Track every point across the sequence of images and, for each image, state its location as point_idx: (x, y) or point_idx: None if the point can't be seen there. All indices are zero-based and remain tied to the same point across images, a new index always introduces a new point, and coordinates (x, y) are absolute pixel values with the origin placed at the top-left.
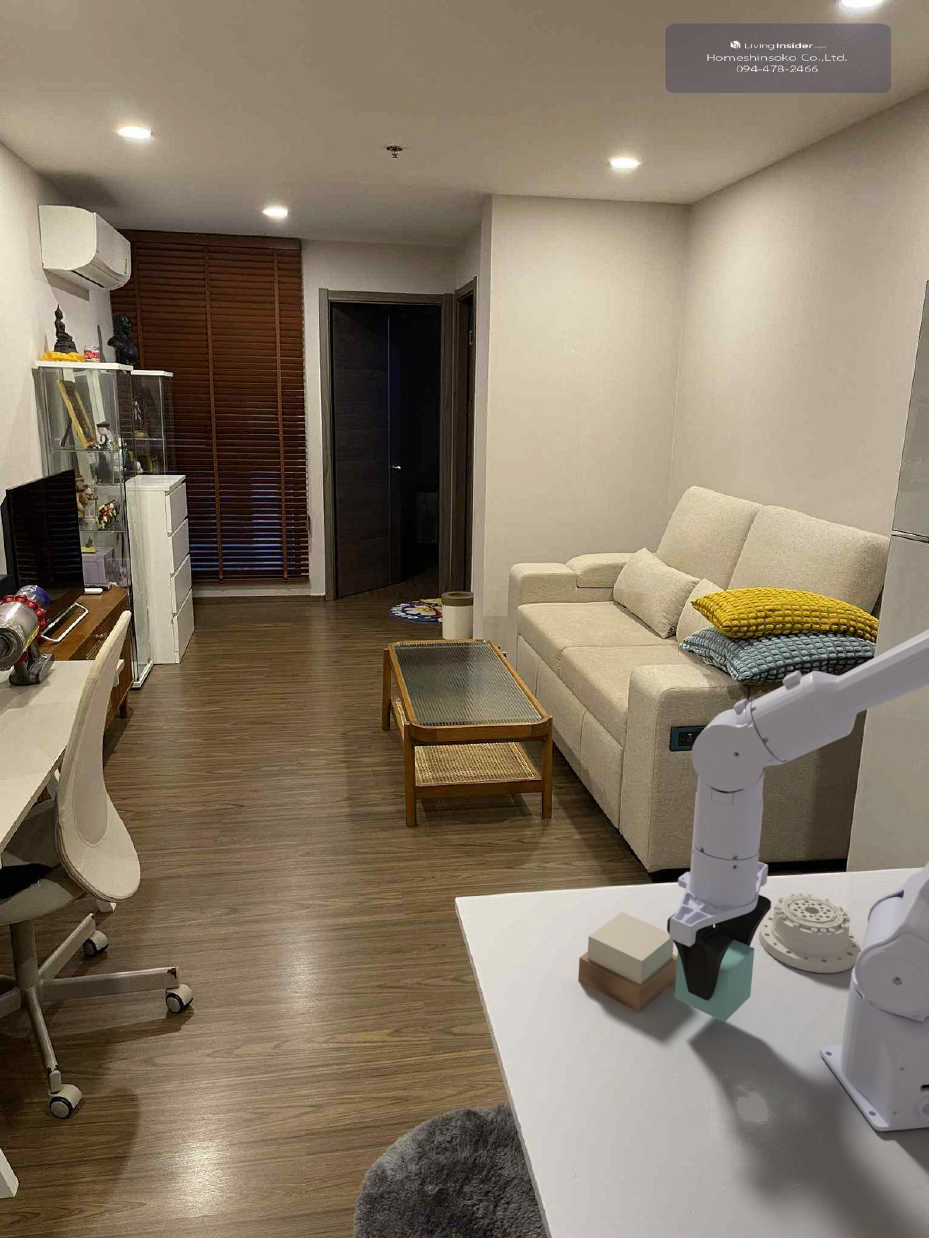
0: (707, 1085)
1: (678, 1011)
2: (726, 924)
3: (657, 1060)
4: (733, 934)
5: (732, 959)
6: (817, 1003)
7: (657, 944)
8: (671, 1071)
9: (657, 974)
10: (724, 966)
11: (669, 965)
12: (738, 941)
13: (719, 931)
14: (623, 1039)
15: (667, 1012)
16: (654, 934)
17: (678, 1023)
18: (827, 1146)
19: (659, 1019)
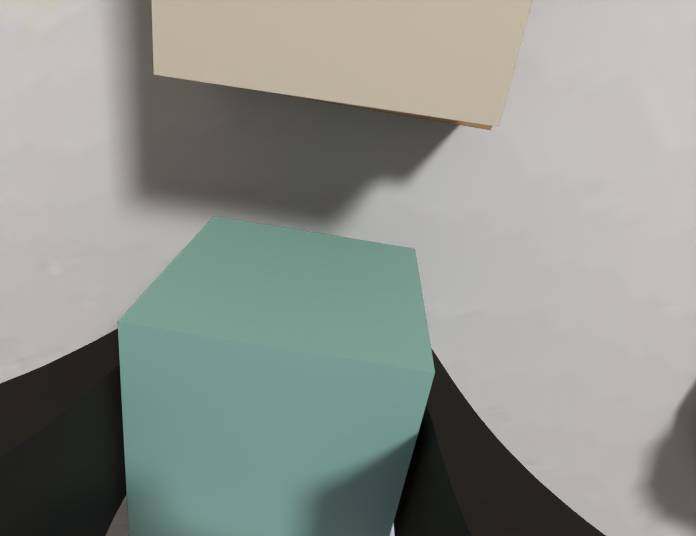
0: (83, 338)
1: (302, 181)
2: (425, 523)
3: (61, 209)
4: (414, 515)
5: (234, 528)
6: (552, 461)
7: (353, 83)
8: (55, 255)
9: (313, 99)
10: (160, 515)
11: (412, 115)
12: (403, 514)
13: (425, 446)
14: (57, 84)
15: (275, 153)
16: (445, 22)
17: (248, 202)
18: (113, 532)
19: (225, 145)
